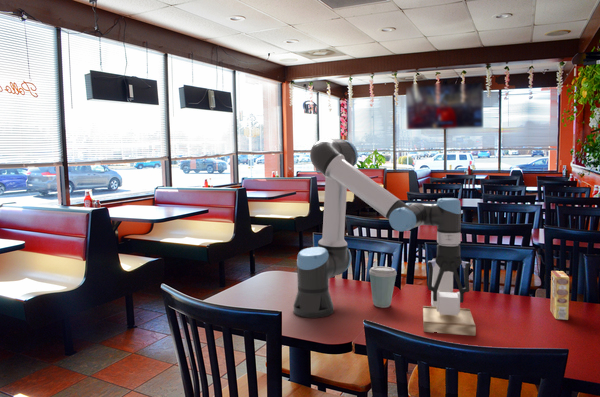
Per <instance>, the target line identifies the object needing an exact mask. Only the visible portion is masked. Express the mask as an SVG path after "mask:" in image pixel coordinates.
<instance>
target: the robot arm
mask: <svg viewBox="0 0 600 397" xmlns="http://www.w3.org/2000/svg"><path fill="white" fill-rule="evenodd" d="M309 152H310V153H309V155H310V156H309V157H310V161H311V164H312V165H313V167H314V168H315V169H316V170H317V171H319V172H320V173H321V174H322V175H323V177H324V178H325V180H324V181H325V182H324V183H325V184H324V202H323V222H322V223H323V224H322V237H321V239H319V240H318V243H317V244H318V245H317V246H311V247H307V248H303V249H301V250H300V251H299V252H298V254H297V257H296V266H297V268H296V269H297V272H296V273H297V292H296V296H295V299H294V303H293V313H294V314H295V315H297V316H298V317H302V318H308V319H310V318H311V319H312V318H313V319H317V318H318V319H319V318H324V317H328V316H330V315H332V314H333V313H334V303H333V300H332V297H331V294H330V289H329V284H330V283H329V279H331V278H334V277H336V276H340V275H341V274H343V273H344V272H346V271H347V270H348V269H349V267H350V266H351V263H352V253H351V251H350V250H349V248H348V242H347V241H346V240H345V228H346V210H347V197H348V196H347V193H348V192H347V191H350V192H351V193H353V194H354V195H355V197H358V198H359V199H361V201H363V202H365V203H366V204H367V205H369V206H370V207H371V208H373V210H375V211H377V212H378V213H379V214H380V215H382V216H383V217H384V218H386V219H387V220H388V222H389V225H390V226H391V228H392V229H393V230H394V231H396V232H408V231H410V230H412V229H414V228H417V227H420V226H431V227H433V226H434V227H435V226H436V242H437V245H436V257H435V258H434V259H435V260H433V261H432V260H428V261H427V266H428V277H427V279H428V280H427V289H428V290H427V291H433V300H434V301H437V312H439V291H437V290H438V287H439V284H440V281H441V279H442V276H443V274H444V272H447V271H449V272H453V276H454V279H455V282H456V284H457V287H458V290H459V291H456V293H457V295H458V313H460V308H461V303H462V304H463V303H464V302H465V301H464V295H465V293H469V292H470V279H469V278H470V277H469V275H470V274H469V269H470V267H471V264H470V261H463V260H462V259H461V245H460V244H461V220H462V218H461V217H462V209H461V208H462V206H461V201H460V199H458V198H456V197H455V198H454V197H442V198H441V197H440V198H437V202H436V203H424V202H423V203H420V202H406V203H405V202H403V201H402V200H401V199H400V198H398V197H397V196H395V195H394V194H393V193H391V192H390V191H389V190H387V189H385V187H383V186H381V185H380V184H379V183H377V182H376V181H374V180H373V179H372V178H371V177H369V176H368V175H366V173H364V172H362V171H361V170H359V169H358V168H357V167H355V165H356V164H357V162H358V159H359V158H358V157H359V154H358V150H357V148H356V146H355V145H354V144H353V143H352V142H351V141H350V140H346V139H342V138H335V139H334V138H323V139H320V140H317V141H316V142H315V143H314V144H313V145H312V146H311V148H310V151H309ZM436 263H437V265H438V266H439V267H440V270H439V273H438V276H437V279H436V282H435V285H434V287H433V286H432V278H433V267H434V266H435V264H436ZM461 265H462V266H461ZM460 266H461V267H462V269H463V279H464V280H463V281H464V287H463V285H462V282H461V278H460V276H459V273H458V269H459V267H460Z"/></svg>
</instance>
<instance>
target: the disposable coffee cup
mask: <svg viewBox="0 0 600 397" xmlns="http://www.w3.org/2000/svg"><path fill="white" fill-rule="evenodd" d="M368 274H369V280H370V288H371V289H370V290H371V298H372V303H373V305H374V306H375V307H377V308H382V309H384V308H390V306H391V304H392V300H393V294H394V293H393V292H394V288H395V282H396V277H397V275H398V274H397V270H396V268H393V267H391V266H390V267H389V266H372V267H370V269H369V270H368Z"/></svg>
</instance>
